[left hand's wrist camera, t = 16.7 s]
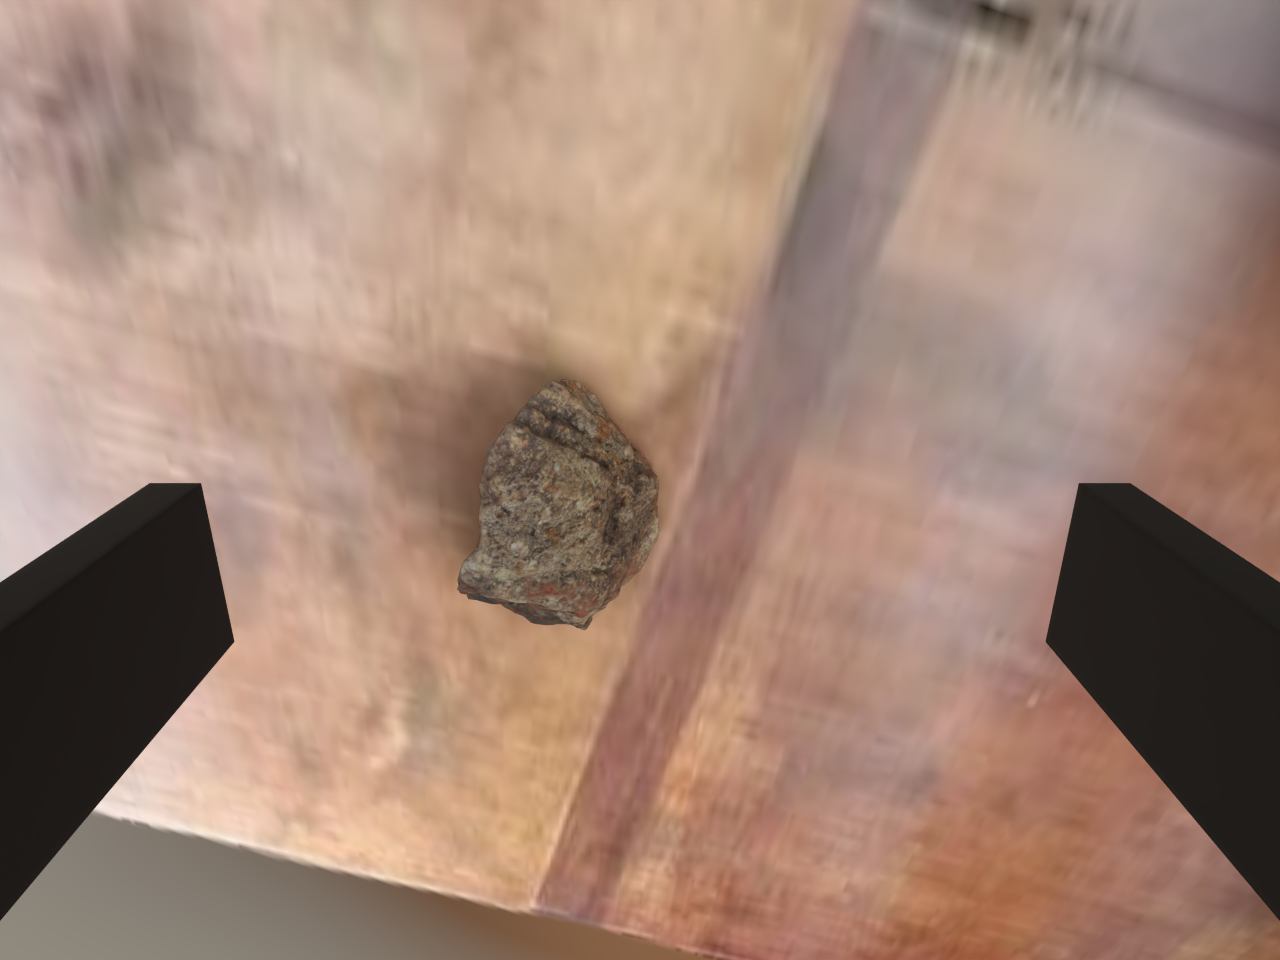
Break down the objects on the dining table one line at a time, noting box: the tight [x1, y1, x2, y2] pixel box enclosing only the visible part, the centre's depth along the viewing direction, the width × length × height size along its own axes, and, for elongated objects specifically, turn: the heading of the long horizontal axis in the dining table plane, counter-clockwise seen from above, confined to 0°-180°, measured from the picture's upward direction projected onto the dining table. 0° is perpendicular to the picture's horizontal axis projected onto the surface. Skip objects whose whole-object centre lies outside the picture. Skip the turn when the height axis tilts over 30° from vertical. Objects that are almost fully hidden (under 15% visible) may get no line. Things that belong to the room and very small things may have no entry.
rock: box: [457, 380, 659, 630], centre depth 41 cm, size 14×9×10 cm
